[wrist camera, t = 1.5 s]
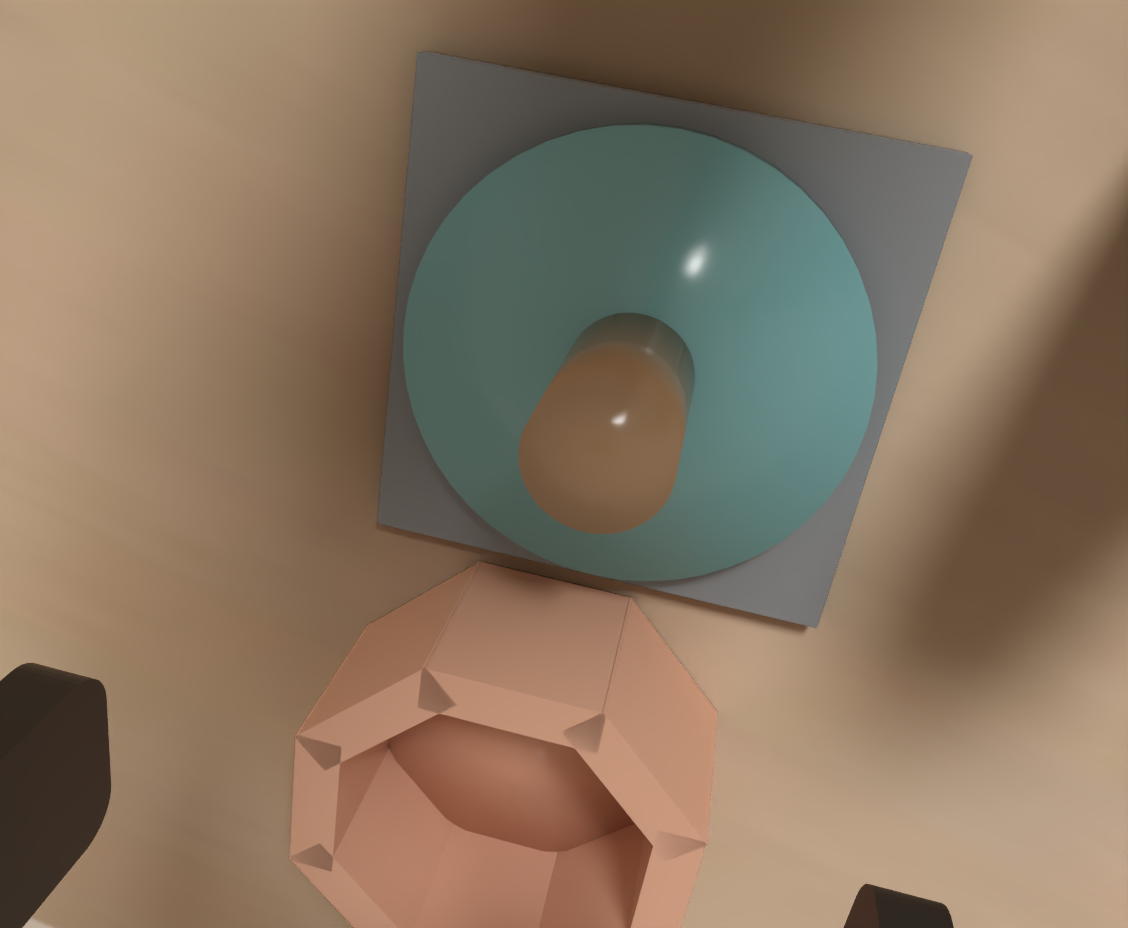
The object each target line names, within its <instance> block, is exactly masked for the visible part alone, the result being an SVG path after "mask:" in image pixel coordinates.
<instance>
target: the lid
mask: <svg viewBox="0 0 1128 928" xmlns="http://www.w3.org/2000/svg"><path fill="white" fill-rule="evenodd" d="M403 359H404V368H405V378H406V385H407V390H408V394H409V398H410V402H411V406H412V410H413V413H414V416H415V419H416V421H417V424H418V427H419V429H420V432H421V435H422V437H423V439H424V441H425V443H426V445H427V447H428V449H429V451H430V453H431V455H432V457H433V459H434V460H435V462H436V464H437V465H438V467H439V468H440V470H441V471H442V473H443V474H444V476H445V477H446V478H447V480H448V481H449V483H450V484H451V486H452V487H453V488H454V489H455V490H456V491H457V493H458V494H459V495H460V496H461V497H462V498H463V500H464V501H465V502H466V503H467V504H468V505H469V506H470V507H471V508H472V509H473V510H474V511H475V512H476V513H477V514H478V515H479V516H481V517H482V518H483V519H484V520H485V521H486V522H487V523H488V524H489V525H490V526H492V527H493V528H495V529H496V530H497V531H499V532H500V533H502V534H503V535H504V536H506V537H507V538H508V539H510V540H511V541H513V542H514V543H516V544H518V545H520V546H521V547H523V548H525V549H527V550H528V551H530V552H532V553H534V554H536V555H537V556H540V557H542V558H544V559H547V560H549V561H551V562H554V563H556V564H559V565H561V566H563V567H567V568H570V569H573V570H577V571H580V572H583V573H587V574H590V575H596V576H601V577H607V578H612V579H618V580H633V581H663V580H677V579H683V578H689V577H695V576H701V575H705V574H708V573H712V572H715V571H719V570H722V569H725V568H729V567H731V566H734V565H736V564H738V563H741V562H743V561H745V560H748V559H750V558H752V557H755V556H757V555H758V554H760V553H762V552H764V551H765V550H767V549H769V548H770V547H772V546H774V545H776V544H777V543H779V542H781V541H782V540H783V539H785V538H786V537H787V536H789V535H790V534H791V533H792V532H794V531H795V530H796V529H798V528H799V527H800V526H802V525H803V524H804V523H805V522H806V521H807V520H808V519H809V518H810V517H811V516H812V515H813V514H814V513H815V512H816V511H817V510H818V509H819V508H820V507H821V506H822V505H823V504H824V503H825V502H826V500H827V499H828V498H829V496H830V495H831V494H832V492H833V491H834V490H835V489H836V487H837V486H838V485H839V483H840V482H841V481H842V479H843V477H844V476H845V474H846V472H847V470H848V468H849V467H850V465H851V463H852V461H853V460H854V458H855V456H856V454H857V452H858V449H859V447H860V444H861V442H862V439H863V437H864V434H865V432H866V429H867V427H868V423H869V419H870V414H871V410H872V406H873V402H874V398H875V389H876V378H877V368H878V364H877V343H876V332H875V327H874V321H873V316H872V311H871V306H870V302H869V299H868V296H867V293H866V291H865V288H864V285H863V282H862V279H861V276H860V273H859V270H858V268H857V265H856V263H855V261H854V259H853V257H852V255H851V253H850V251H849V249H848V247H847V245H846V244H845V242H844V240H843V238H842V236H841V235H840V233H839V232H838V230H837V229H836V228H835V226H834V225H833V223H832V222H831V220H830V219H829V218H828V216H827V215H826V213H825V212H824V211H823V209H822V208H821V207H820V206H819V205H818V204H817V203H816V202H815V201H814V200H813V199H812V198H811V197H810V196H809V195H808V194H807V193H806V191H805V190H804V189H803V188H802V187H801V186H800V185H798V184H797V183H796V182H795V181H793V180H792V179H791V178H790V177H788V176H787V175H786V174H785V173H783V172H782V171H781V170H780V169H778V168H777V167H776V166H775V165H773V164H771V163H770V162H768V161H766V160H765V159H763V158H761V157H759V156H758V155H756V154H754V153H753V152H751V151H749V150H748V149H746V148H744V147H741V146H739V145H736V144H734V143H732V142H729V141H727V140H724V139H722V138H720V137H717V136H715V135H711V134H707V133H704V132H700V131H696V130H692V129H688V128H684V127H679V126H671V125H662V124H654V123H622V124H610V125H604V126H598V127H592V128H585V129H581V130H578V131H575V132H571V133H568V134H565V135H562V136H558V137H555V138H552V139H550V140H548V141H546V142H544V143H542V144H539V145H537V146H535V147H533V148H531V149H529V150H527V151H524V152H523V153H521V154H519V155H517V156H515V157H514V158H512V159H511V160H509V161H508V162H506V163H505V164H503V165H502V166H500V167H499V168H497V169H496V170H494V171H493V172H491V173H489V174H488V175H487V176H486V177H485V178H484V179H483V180H481V181H480V182H479V183H478V184H477V185H476V186H475V187H473V188H472V189H471V190H470V191H469V192H468V193H467V194H465V196H464V197H463V198H462V199H461V200H460V201H459V203H458V204H457V205H456V206H455V207H454V208H453V210H452V211H451V212H450V213H449V214H448V215H447V217H446V218H445V219H444V221H443V222H442V224H441V226H440V227H439V229H438V230H437V232H436V233H435V235H434V237H433V238H432V240H431V241H430V243H429V245H428V247H427V249H426V251H425V253H424V256H423V258H422V260H421V262H420V264H419V267H418V269H417V271H416V275H415V278H414V281H413V284H412V288H411V291H410V294H409V298H408V304H407V310H406V316H405V323H404V340H403Z"/></svg>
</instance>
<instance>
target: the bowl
mask: <svg viewBox="0 0 1128 928" xmlns="http://www.w3.org/2000/svg"><path fill="white" fill-rule="evenodd" d="M716 723H717V710H715V709H714V708H713V706H712V705H711V704H710V702H709V701H708V700H707V698H706V697H705V696H704V694H703V693H702V692H701V690H700V689H699V688H698V686H697V685H696V684H695V682H694V681H693V680H692V678H691V677H690V676H689V674H688V673H687V671H686V670H685V669H684V667H683V666H682V665H681V663H680V662H679V661H678V659H677V658H676V657H675V655H674V654H673V653H672V651H671V650H670V649H669V647H668V646H667V645H666V643H665V642H664V641H663V639H662V638H661V637H660V635H659V634H658V633H657V631H656V630H655V629H654V627H653V626H652V625H651V623H650V622H649V621H648V619H647V618H646V617H645V615H644V614H643V613H642V611H641V610H640V608H639V607H638V606H637V604H636V603H635V602H634V600H633V598H631V597H626V596H622V595H618V594H614V593H609V592H605V591H601V590H597V589H593V588H589V587H584V586H580V585H576V584H572V583H568V582H564V581H559V580H555V579H551V578H547V577H543V576H539V575H534V574H530V573H526V572H522V571H518V570H514V569H509V568H505V567H501V566H497V565H493V564H488V563H484V562H482V561H478V563H476V564H475V565H473V566H471V567H469V568H468V569H466V570H464V571H462V572H460V573H459V574H457V575H455V576H453V577H452V578H450V579H448V580H446V581H445V582H443V583H441V584H439V585H438V586H436V587H434V588H432V589H430V590H429V591H427V592H425V593H423V594H422V595H420V596H418V597H416V598H415V599H413V600H411V601H409V602H407V603H406V604H404V605H402V606H400V607H399V608H397V609H395V610H393V611H392V612H390V613H388V614H386V615H385V616H383V617H381V618H379V619H377V620H376V621H374V622H372V623H370V624H368V625H367V626H366V628H365V629H364V631H363V632H362V634H361V635H360V637H359V638H358V640H357V641H356V643H355V645H354V646H353V648H352V649H351V651H350V652H349V654H348V655H347V657H346V658H345V660H344V661H343V663H342V664H341V666H340V667H339V669H338V671H337V672H336V674H335V675H334V677H333V678H332V680H331V681H330V683H329V684H328V686H327V687H326V689H325V690H324V692H323V693H322V695H321V697H320V698H319V700H318V701H317V703H316V704H315V706H314V707H313V709H312V710H311V712H310V713H309V715H308V716H307V718H306V719H305V721H304V723H303V724H302V726H301V727H300V729H299V730H298V732H297V733H296V735H295V736H294V737H295V758H294V778H293V799H292V819H291V839H290V856H289V859H290V860H291V861H292V862H293V863H294V864H295V865H296V866H297V867H298V868H299V870H300V871H301V872H302V873H303V874H304V875H305V876H306V877H307V878H308V879H309V880H310V881H311V882H312V883H313V884H314V886H315V887H316V888H317V889H318V890H319V891H320V892H321V893H322V894H323V895H324V896H325V897H326V898H327V899H328V901H329V902H330V903H331V904H332V905H333V906H334V907H335V908H336V909H337V910H338V911H339V912H340V913H341V914H342V916H343V917H344V918H345V919H346V920H347V921H348V922H349V923H350V924H351V925H352V926H353V927H354V928H681V926H682V922H683V919H684V916H685V913H686V909H687V906H688V903H689V899H690V896H691V893H692V890H693V886H694V883H695V880H696V877H697V873H698V870H699V867H700V864H701V860H702V857H703V854H704V850H705V847H706V846H707V845H708V832H709V818H710V805H711V791H712V777H713V764H714V750H715V736H716Z"/></svg>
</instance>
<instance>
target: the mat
mask: <svg viewBox="0 0 1128 928" xmlns="http://www.w3.org/2000/svg"><path fill="white" fill-rule="evenodd" d="M622 123H654V124H662V125H671V126H679V127H684V128H688V129H692V130H696V131H700V132H704V133H707V134H711V135H715V136H717V137H720V138H722V139H724V140H727V141H729V142H732V143H734V144H736V145H739V146H741V147H744V148H746V149H748V150H749V151H751V152H753V153H754V154H756V155H758V156H759V157H761V158H763V159H765V160H766V161H768V162H770V163H771V164H773V165H775V166H776V167H777V168H778V169H780V170H781V171H782V172H783V173H785V174H786V175H787V176H788V177H790V178H791V179H792V180H793V181H795V182H796V183H797V184H798V185H800V186H801V187H802V188H803V189H804V190H805V191H806V193H807V194H808V195H809V196H810V197H811V198H812V199H813V200H814V201H815V202H816V203H817V204H818V205H819V206H820V207H821V208H822V209H823V211H824V212H825V213H826V215H827V216H828V218H829V219H830V220H831V222H832V223H833V225H834V226H835V228H836V229H837V230H838V232H839V233H840V235H841V236H842V238H843V240H844V242H845V244H846V245H847V247H848V249H849V251H850V253H851V255H852V257H853V259H854V261H855V263H856V265H857V268H858V270H859V273H860V276H861V279H862V282H863V285H864V288H865V291H866V293H867V296H868V299H869V302H870V306H871V311H872V316H873V321H874V327H875V332H876V343H877V364H878V368H877V378H876V389H875V398H874V402H873V406H872V410H871V414H870V419H869V423H868V427H867V429H866V432H865V434H864V437H863V439H862V442H861V444H860V447H859V449H858V452H857V454H856V456H855V458H854V460H853V461H852V463H851V465H850V467H849V468H848V470H847V472H846V474H845V476H844V477H843V479H842V481H841V482H840V483H839V485H838V486H837V487H836V489H835V490H834V491H833V492H832V494H831V495H830V496H829V498H828V499H827V500H826V502H825V503H824V504H823V505H822V506H821V507H820V508H819V509H818V510H817V511H816V512H815V513H814V514H813V515H812V516H811V517H810V518H809V519H808V520H807V521H806V522H805V523H804V524H803V525H802V526H800V527H799V528H798V529H796V530H795V531H794V532H792V533H791V534H790V535H789V536H787V537H786V538H785V539H783V540H782V541H781V542H779V543H777V544H776V545H774V546H772V547H770V548H769V549H767V550H765V551H764V552H762V553H760V554H758V555H757V556H755V557H752V558H750V559H748V560H745V561H743V562H741V563H738V564H736V565H734V566H731V567H729V568H725V569H722V570H719V571H715V572H712V573H708V574H705V575H701V576H695V577H689V578H683V579H677V580H663V581H633V580H618V579H612V578H608V579H612V580H616V581H620V582H625V583H629V584H633V585H637V586H641V587H646V588H650V589H654V590H658V591H662V592H667V593H671V594H675V595H679V596H683V597H688V598H692V599H696V600H700V601H704V602H709V603H713V604H717V605H721V606H725V607H730V608H734V609H738V610H742V611H746V612H751V613H755V614H759V615H763V616H767V617H772V618H776V619H780V620H784V621H788V622H793V623H797V624H801V625H805V626H809V627H814V628H817V626H818V623H819V620H820V617H821V614H822V611H823V608H824V605H825V602H826V599H827V596H828V593H829V590H830V587H831V583H832V580H833V577H834V574H835V571H836V568H837V565H838V562H839V559H840V556H841V553H842V550H843V547H844V544H845V541H846V538H847V535H848V532H849V529H850V526H851V523H852V520H853V517H854V514H855V511H856V508H857V505H858V502H859V499H860V496H861V493H862V490H863V487H864V483H865V480H866V477H867V474H868V471H869V468H870V465H871V462H872V459H873V456H874V453H875V450H876V447H877V444H878V441H879V438H880V435H881V432H882V429H883V426H884V423H885V420H886V417H887V414H888V411H889V408H890V405H891V402H892V399H893V396H894V393H895V390H896V387H897V383H898V380H899V377H900V374H901V371H902V368H903V365H904V362H905V359H906V356H907V353H908V350H909V347H910V344H911V341H912V338H913V335H914V332H915V329H916V326H917V323H918V320H919V317H920V314H921V311H922V308H923V305H924V302H925V299H926V296H927V293H928V290H929V287H930V283H931V280H932V277H933V274H934V271H935V268H936V265H937V262H938V259H939V256H940V253H941V250H942V247H943V244H944V241H945V238H946V235H947V232H948V229H949V226H950V223H951V220H952V217H953V214H954V211H955V208H956V205H957V202H958V199H959V196H960V193H961V190H962V187H963V183H964V180H965V177H966V174H967V171H968V168H969V165H970V162H971V159H972V155H970V154H969V153H968V152H963V151H957V150H952V149H947V148H941V147H936V146H931V145H925V144H920V143H915V142H909V141H904V140H899V139H893V138H888V137H883V136H877V135H872V134H866V133H861V132H856V131H850V130H845V129H840V128H834V127H829V126H824V125H818V124H813V123H808V122H802V121H797V120H792V119H786V118H781V117H776V116H770V115H765V114H760V113H754V112H749V111H744V110H738V109H733V108H728V107H722V106H717V105H712V104H706V103H701V102H696V101H690V100H685V99H680V98H674V97H669V96H663V95H658V94H653V93H647V92H642V91H637V90H631V89H626V88H621V87H615V86H610V85H605V84H599V83H594V82H589V81H583V80H578V79H573V78H567V77H562V76H557V75H551V74H546V73H541V72H535V71H530V70H525V69H519V68H514V67H509V66H503V65H498V64H493V63H487V62H482V61H476V60H471V59H466V58H460V57H455V56H450V55H444V54H439V53H434V52H428V51H422V52H417V63H416V75H415V86H414V98H413V110H412V121H411V133H410V145H409V156H408V168H407V180H406V191H405V203H404V215H403V226H402V238H401V250H400V261H399V273H398V285H397V296H396V308H395V320H394V331H393V343H392V355H391V366H390V378H389V390H388V401H387V413H386V425H385V436H384V448H383V460H382V471H381V483H380V495H379V506H378V518H377V524H381V525H385V526H390V527H394V528H398V529H402V530H406V531H411V532H415V533H419V534H423V535H427V536H432V537H436V538H440V539H444V540H448V541H453V542H457V543H461V544H465V545H469V546H474V547H478V548H482V549H486V550H490V551H495V552H499V553H503V554H507V555H511V556H515V557H520V558H524V559H528V560H532V561H536V562H541V563H545V564H549V565H553V566H557V567H562V568H566V569H570V568H567V567H563V566H561V565H559V564H556V563H554V562H551V561H549V560H547V559H544V558H542V557H540V556H537V555H536V554H534V553H532V552H530V551H528V550H527V549H525V548H523V547H521V546H520V545H518V544H516V543H514V542H513V541H511V540H510V539H508V538H507V537H506V536H504V535H503V534H502V533H500V532H499V531H497V530H496V529H495V528H493V527H492V526H490V525H489V524H488V523H487V522H486V521H485V520H484V519H483V518H482V517H481V516H479V515H478V514H477V513H476V512H475V511H474V510H473V509H472V508H471V507H470V506H469V505H468V504H467V503H466V502H465V501H464V500H463V498H462V497H461V496H460V495H459V494H458V493H457V491H456V490H455V489H454V488H453V487H452V486H451V484H450V483H449V481H448V480H447V478H446V477H445V476H444V474H443V473H442V471H441V470H440V468H439V467H438V465H437V464H436V462H435V460H434V459H433V457H432V455H431V453H430V451H429V449H428V447H427V445H426V443H425V441H424V439H423V437H422V435H421V432H420V429H419V427H418V424H417V421H416V419H415V416H414V413H413V410H412V406H411V402H410V398H409V394H408V390H407V385H406V378H405V368H404V359H403V340H404V323H405V316H406V310H407V304H408V298H409V294H410V291H411V288H412V284H413V281H414V278H415V275H416V271H417V269H418V267H419V264H420V262H421V260H422V258H423V256H424V253H425V251H426V249H427V247H428V245H429V243H430V241H431V240H432V238H433V237H434V235H435V233H436V232H437V230H438V229H439V227H440V226H441V224H442V222H443V221H444V219H445V218H446V217H447V215H448V214H449V213H450V212H451V211H452V210H453V208H454V207H455V206H456V205H457V204H458V203H459V201H460V200H461V199H462V198H463V197H464V196H465V194H467V193H468V192H469V191H470V190H471V189H472V188H473V187H475V186H476V185H477V184H478V183H479V182H480V181H481V180H483V179H484V178H485V177H486V176H487V175H488V174H489V173H491V172H493V171H494V170H496V169H497V168H499V167H500V166H502V165H503V164H505V163H506V162H508V161H509V160H511V159H512V158H514V157H515V156H517V155H519V154H521V153H523V152H524V151H527V150H529V149H531V148H533V147H535V146H537V145H539V144H542V143H544V142H546V141H548V140H550V139H552V138H555V137H558V136H562V135H565V134H568V133H571V132H575V131H578V130H581V129H585V128H592V127H598V126H604V125H610V124H622ZM570 570H573V569H570ZM574 571H577V570H574ZM578 572H580V571H578ZM595 576H596V575H595ZM599 577H601V576H599ZM604 578H607V577H604Z"/></svg>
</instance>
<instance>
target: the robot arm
mask: <svg viewBox="0 0 1128 928" xmlns="http://www.w3.org/2000/svg"><path fill="white" fill-rule="evenodd" d="M110 793H111V775H110V756H109V737H108V718H107V699H106V691H105V688H104V686H103V684H102V683H101V682H100V681H99V680H96V679H92V678H89V677H85V676H81V675H77V674H73V673H69V672H66V671H62V670H58V669H54V668H50V667H46V666H43V665H39V664H35V663H26V664H23V665H21V666H19V667H17V668H16V669H14V670H13V671H12V672H10V673H9V674H8V675H7V676H6V677H4V678H3V679H2V680H1V681H0V928H22V927H23V926H24V925H25V923H26V922H27V921H28V920H29V919H30V918H31V916H32V915H33V914H34V913H35V912H36V910H37V909H38V908H39V907H40V905H41V904H42V903H43V902H44V901H45V899H46V898H47V897H48V896H49V894H50V893H51V892H52V891H53V890H54V888H55V887H56V886H57V885H58V883H59V882H60V881H61V880H62V879H63V877H64V876H65V875H66V874H67V872H68V871H69V870H70V869H71V868H72V866H73V865H74V864H75V863H76V861H77V860H78V859H79V858H80V857H81V855H82V854H83V853H84V852H85V850H86V849H87V848H88V846H89V845H90V844H91V842H92V841H93V839H94V837H95V836H96V834H97V832H98V830H99V828H100V826H101V824H102V822H103V819H104V817H105V814H106V811H107V808H108V804H109V799H110ZM844 928H954V927H953V923H952V919H951V915H950V913H949V910H948V909H947V907H946V906H945V905H944V904H943V903H939V902H935V901H931V900H927V899H924V898H920V897H916V896H912V895H908V894H904V893H901V892H897V891H893V890H889V889H885V888H882V887H878V886H874V885H870V884H865V885H863V886H862V887H861V889H860V890H859V892H858V894H857V896H856V899H855V901H854V904H853V906H852V908H851V911H850V913H849V916H848V918H847V921H846V923H845V926H844Z"/></svg>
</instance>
